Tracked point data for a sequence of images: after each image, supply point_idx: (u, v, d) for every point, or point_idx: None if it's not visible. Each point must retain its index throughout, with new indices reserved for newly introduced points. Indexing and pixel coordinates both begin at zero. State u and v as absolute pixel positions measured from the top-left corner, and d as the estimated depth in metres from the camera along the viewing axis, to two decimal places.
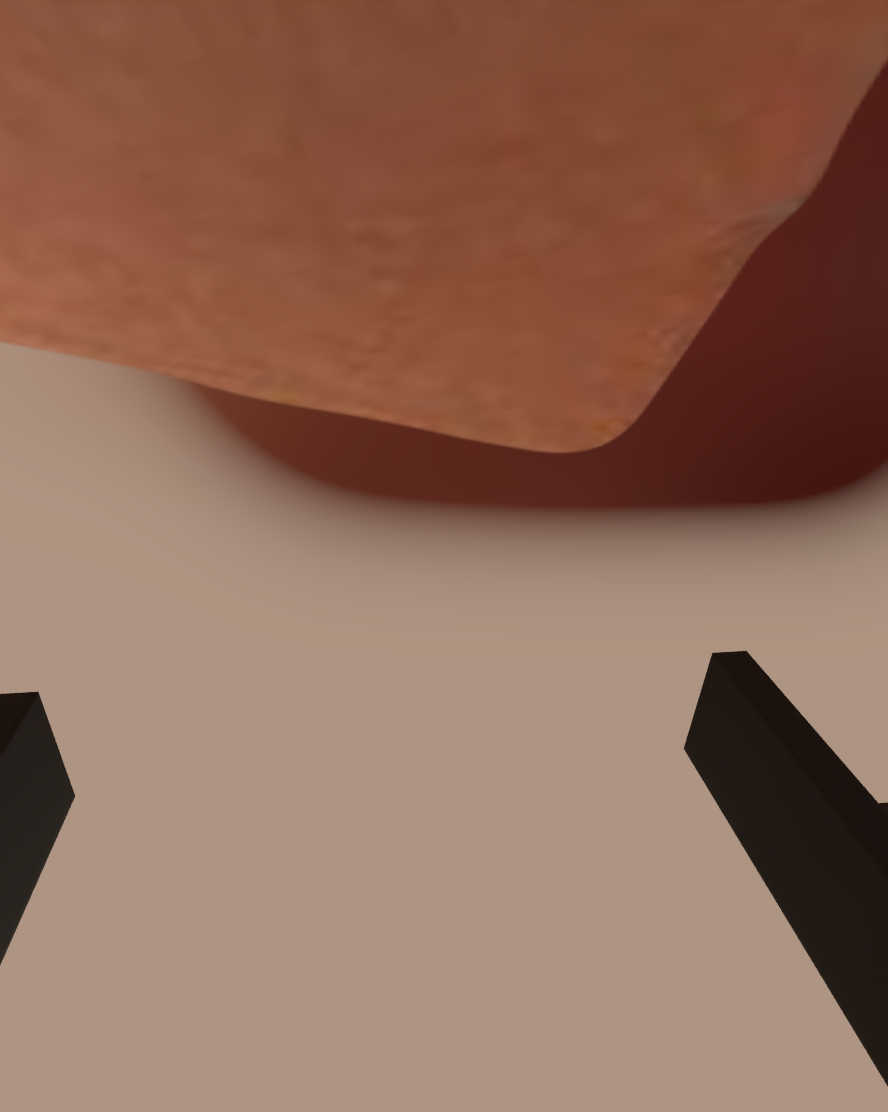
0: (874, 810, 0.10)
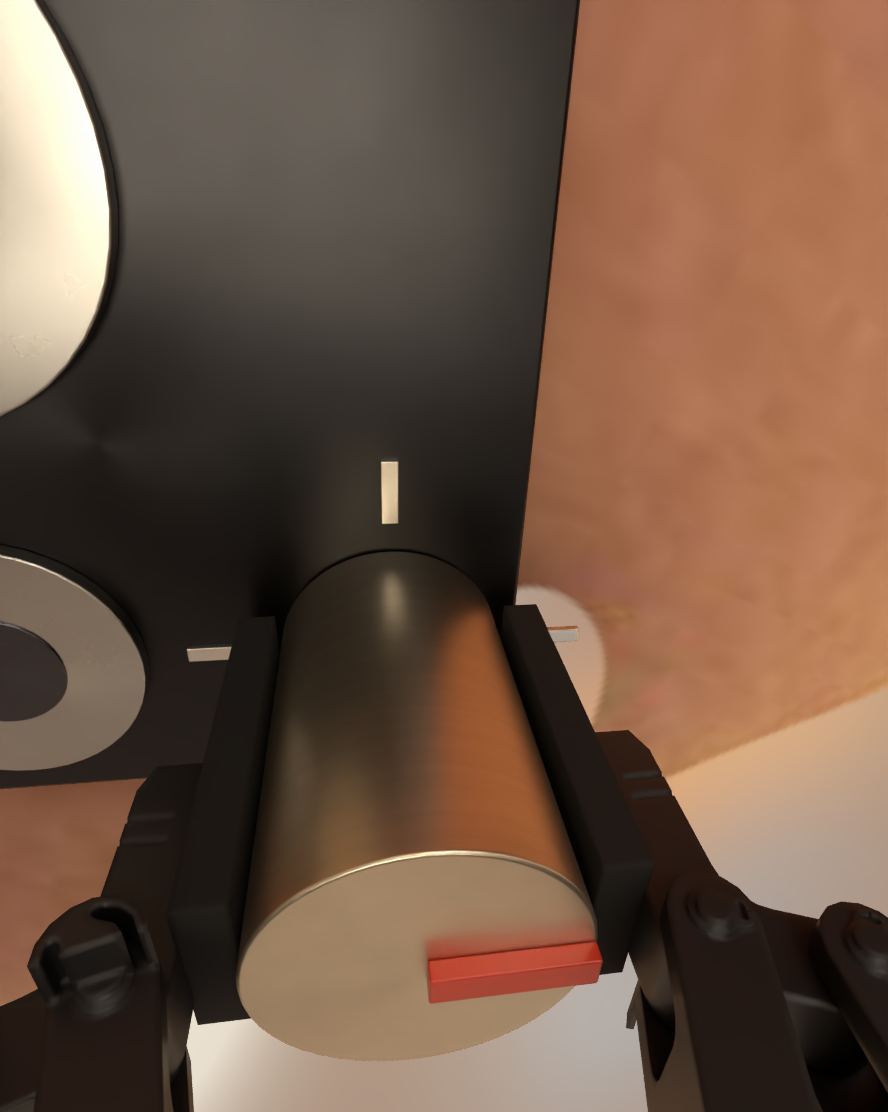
0: (584, 731, 0.11)
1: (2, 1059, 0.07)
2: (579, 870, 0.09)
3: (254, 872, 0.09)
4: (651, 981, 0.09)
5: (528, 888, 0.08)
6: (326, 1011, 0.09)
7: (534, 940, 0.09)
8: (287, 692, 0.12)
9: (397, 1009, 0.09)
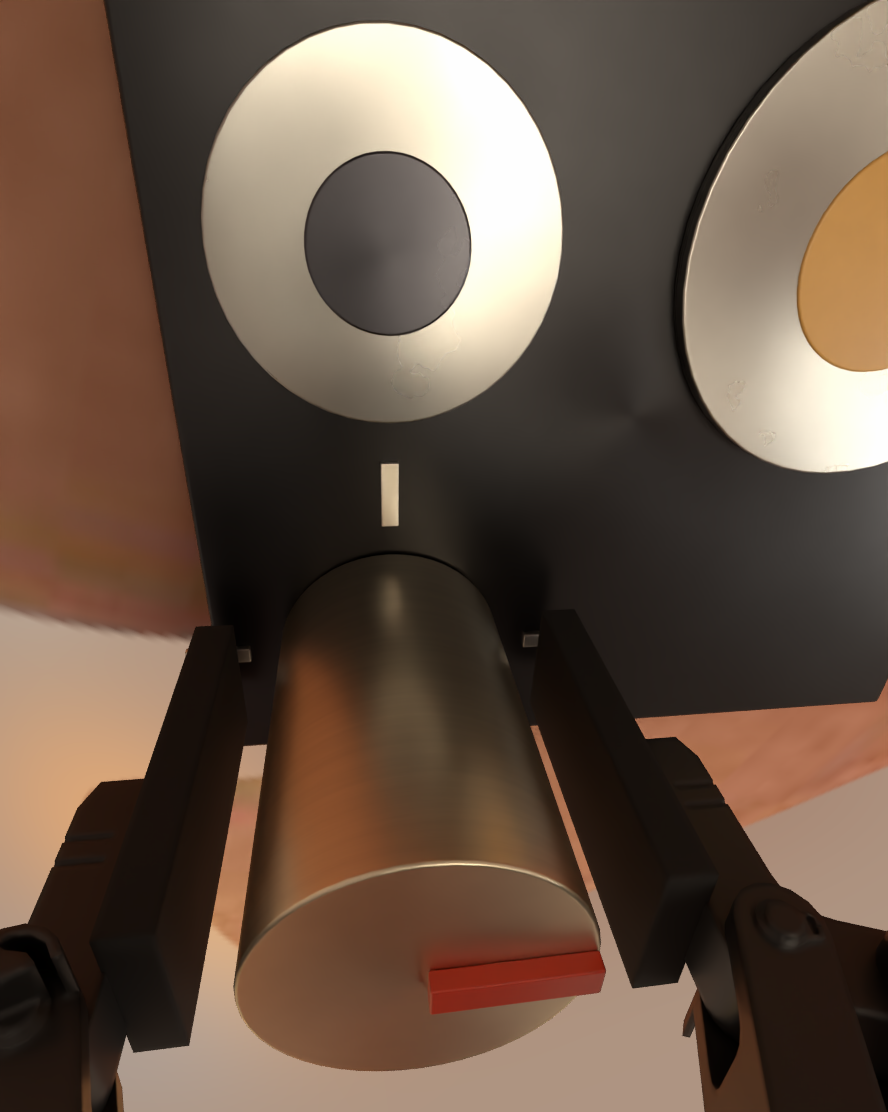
0: (635, 738, 0.11)
1: None
2: (582, 878, 0.09)
3: (252, 882, 0.09)
4: (713, 989, 0.09)
5: (531, 898, 0.08)
6: (326, 1022, 0.09)
7: (537, 949, 0.09)
8: (285, 698, 0.12)
9: (398, 1020, 0.09)
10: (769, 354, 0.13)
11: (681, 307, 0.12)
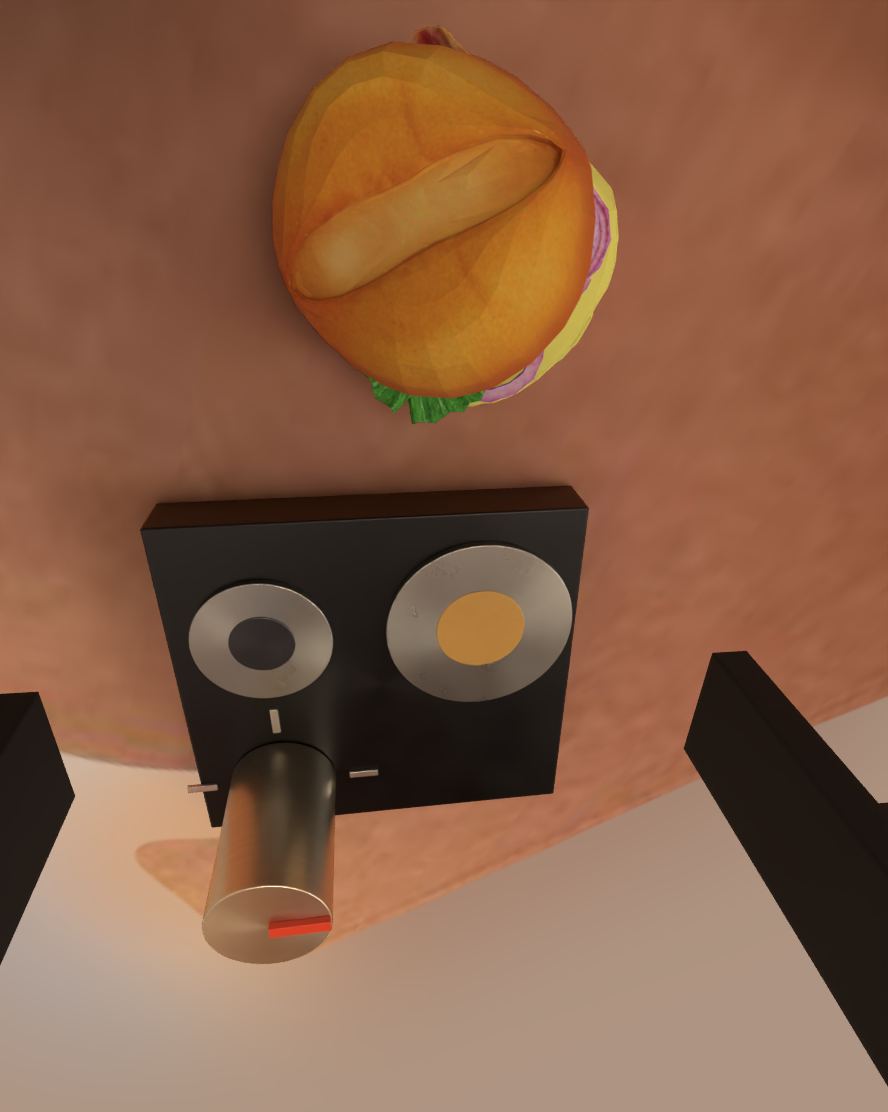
0: (874, 810, 0.10)
1: None
2: (324, 890, 0.26)
3: (209, 893, 0.26)
4: None
5: (298, 897, 0.25)
6: (235, 942, 0.26)
7: (306, 915, 0.25)
8: (226, 818, 0.28)
9: (262, 942, 0.26)
10: (433, 662, 0.29)
11: (389, 650, 0.29)
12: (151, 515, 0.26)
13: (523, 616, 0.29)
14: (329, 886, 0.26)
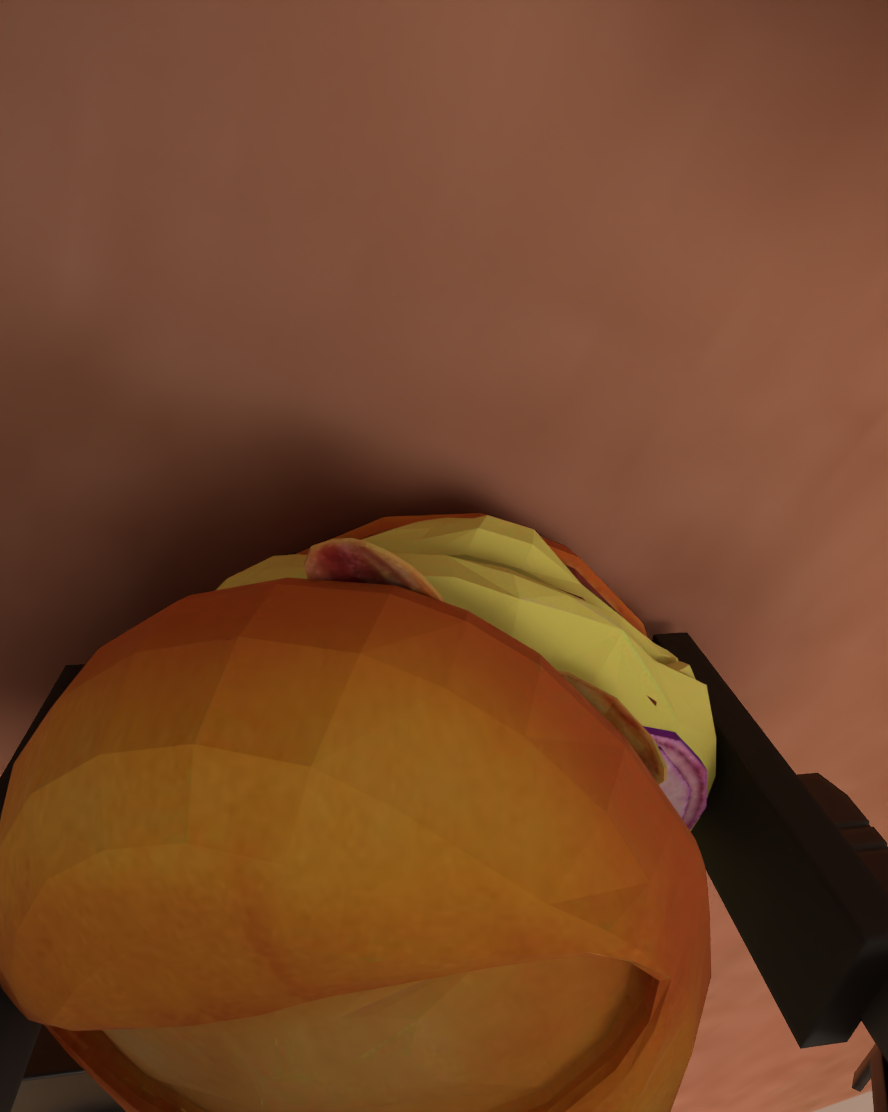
0: (789, 778, 0.10)
1: None
2: None
3: None
4: None
5: None
6: None
7: None
8: None
9: None
10: None
11: None
12: None
13: None
14: None
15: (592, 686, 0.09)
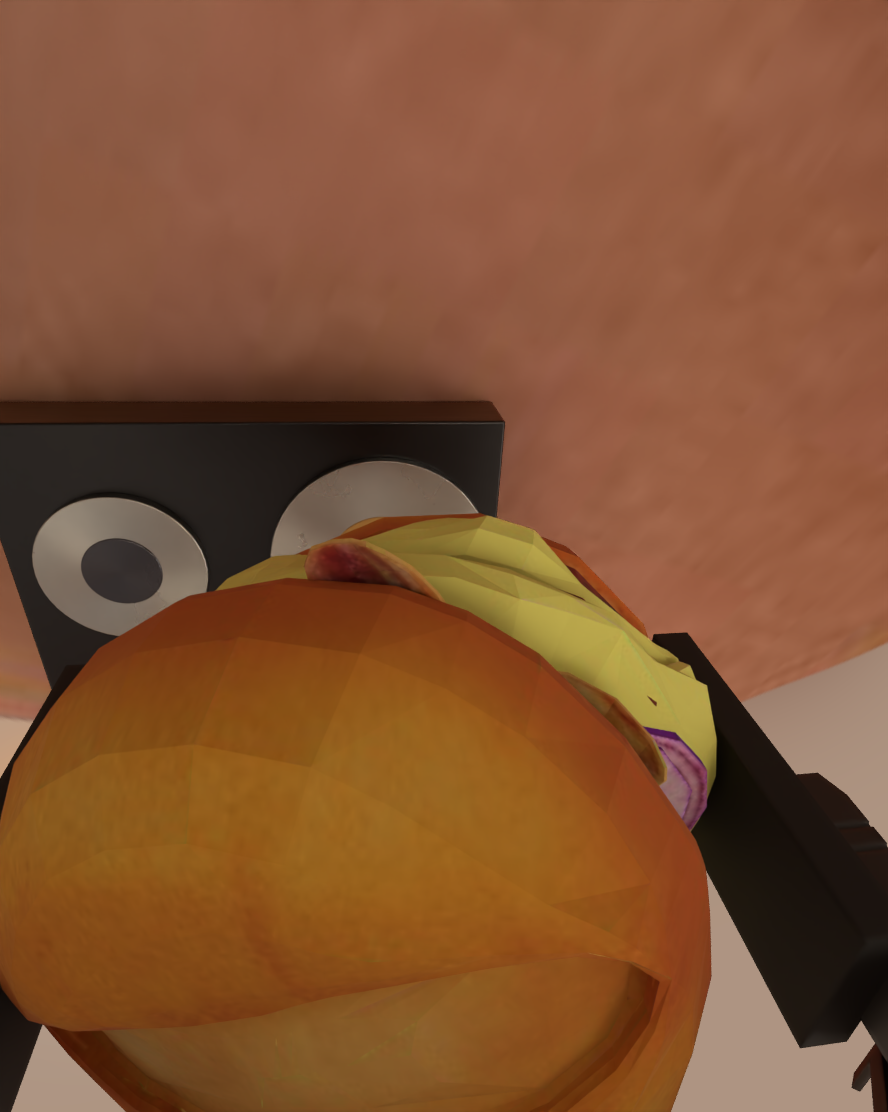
0: (789, 778, 0.10)
1: None
2: None
3: None
4: None
5: None
6: None
7: None
8: None
9: None
10: None
11: None
12: None
13: None
14: None
15: (592, 686, 0.09)
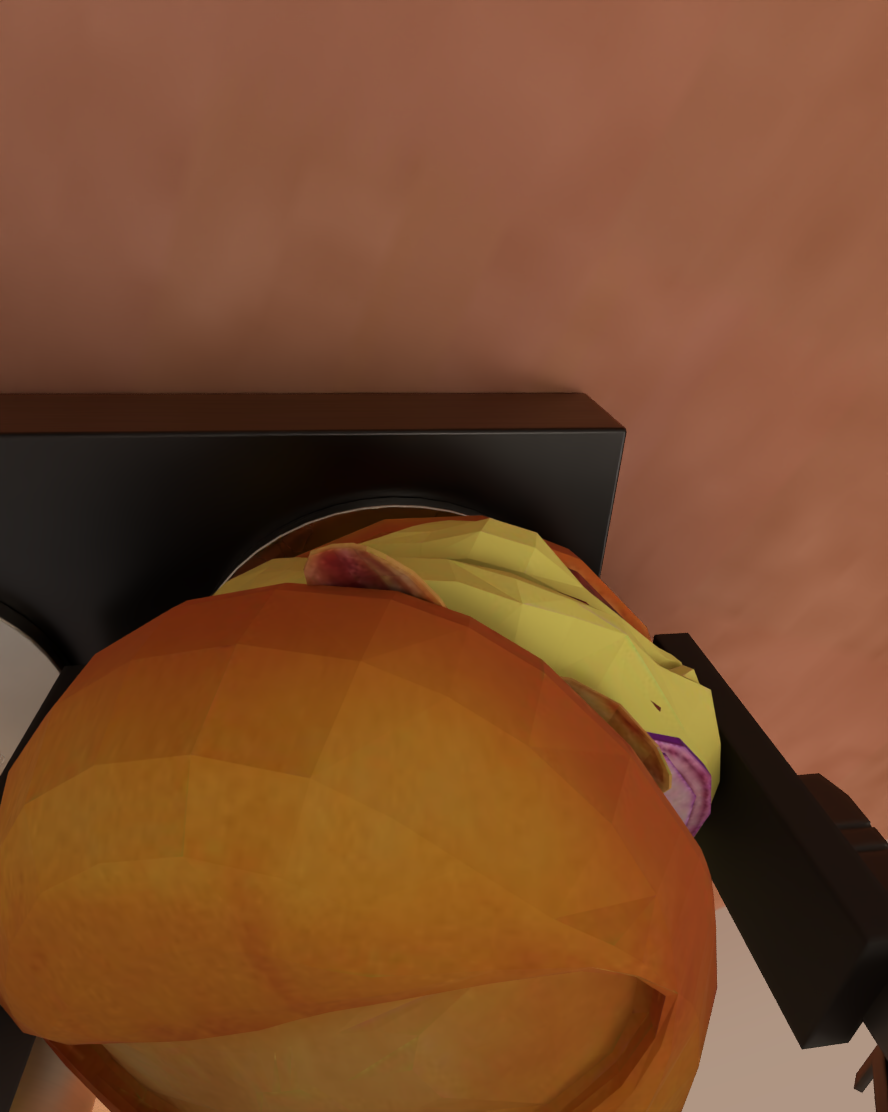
0: (790, 778, 0.10)
1: None
2: None
3: None
4: None
5: None
6: None
7: None
8: None
9: None
10: None
11: None
12: None
13: None
14: None
15: (596, 692, 0.09)
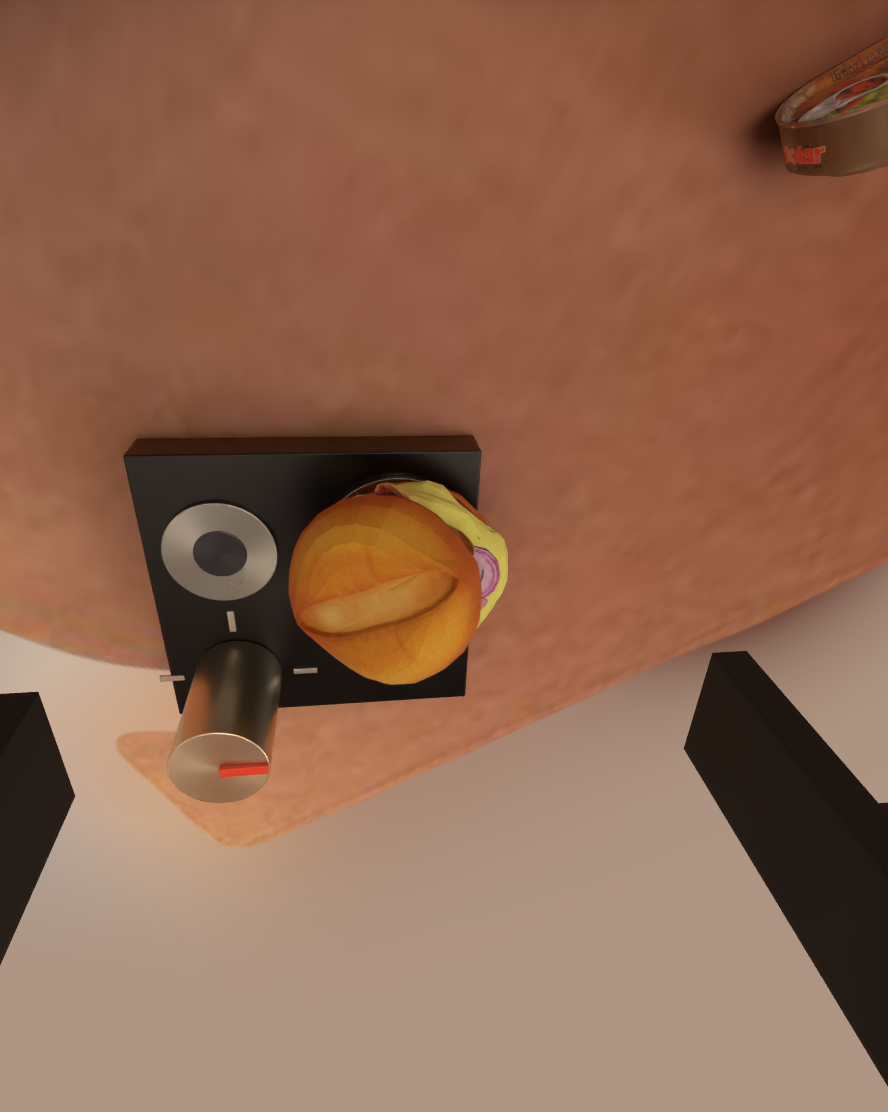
0: (874, 810, 0.10)
1: None
2: (264, 742, 0.33)
3: (173, 743, 0.33)
4: None
5: (242, 744, 0.32)
6: (193, 781, 0.33)
7: (249, 761, 0.33)
8: (189, 693, 0.35)
9: (214, 782, 0.33)
10: None
11: None
12: (132, 446, 0.33)
13: None
14: (268, 742, 0.34)
15: (455, 528, 0.31)
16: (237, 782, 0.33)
